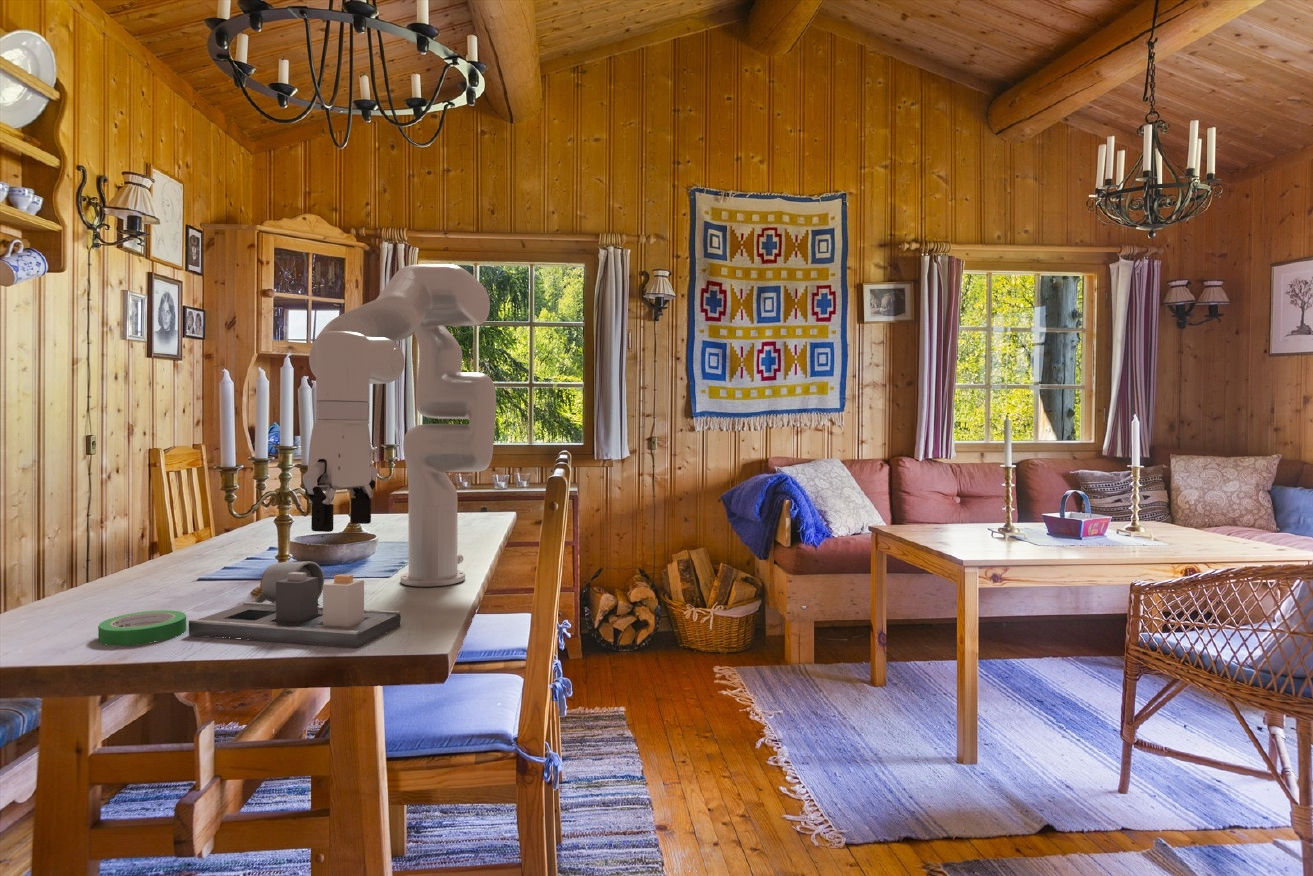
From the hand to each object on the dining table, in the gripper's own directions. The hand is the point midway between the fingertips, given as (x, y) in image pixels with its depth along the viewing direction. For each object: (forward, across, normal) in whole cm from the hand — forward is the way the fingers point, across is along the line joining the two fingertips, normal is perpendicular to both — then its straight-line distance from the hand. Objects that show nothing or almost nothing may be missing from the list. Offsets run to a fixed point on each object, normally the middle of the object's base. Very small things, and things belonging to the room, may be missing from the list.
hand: (342, 527), depth 117 cm
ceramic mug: (+16, -14, -20) cm, 30 cm away
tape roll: (+17, +6, -29) cm, 34 cm away
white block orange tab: (+16, -1, 0) cm, 16 cm away
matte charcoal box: (+16, -1, -8) cm, 18 cm away
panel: (+16, -1, -8) cm, 18 cm away
